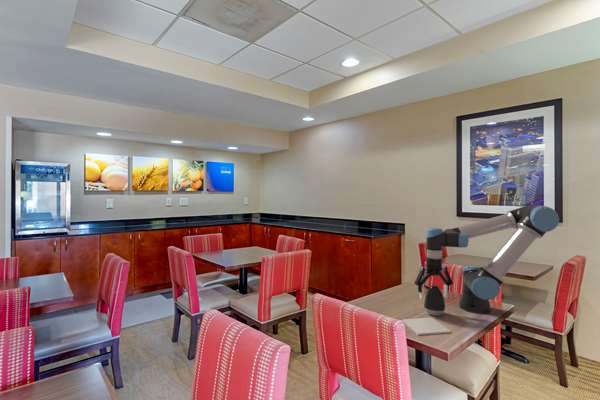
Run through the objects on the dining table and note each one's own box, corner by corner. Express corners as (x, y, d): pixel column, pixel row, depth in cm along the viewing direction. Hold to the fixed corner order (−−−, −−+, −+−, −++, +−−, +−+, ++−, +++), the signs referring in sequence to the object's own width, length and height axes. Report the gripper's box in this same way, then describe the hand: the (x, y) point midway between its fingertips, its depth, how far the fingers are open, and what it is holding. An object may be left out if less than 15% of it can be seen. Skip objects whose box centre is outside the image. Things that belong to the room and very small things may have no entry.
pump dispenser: (427, 309, 174) (427, 281, 173) (447, 313, 167) (447, 284, 167) (420, 314, 166) (420, 285, 165) (441, 319, 159) (441, 289, 159)
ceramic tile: (431, 319, 160) (431, 317, 160) (450, 332, 144) (450, 331, 144) (401, 321, 158) (401, 319, 158) (417, 335, 142) (417, 333, 142)
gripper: (451, 255, 171) (451, 294, 172) (408, 256, 168) (407, 296, 168) (460, 258, 164) (460, 299, 164) (415, 259, 160) (414, 301, 161)
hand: (433, 298), depth 166 cm, fingers open, 13 cm apart
